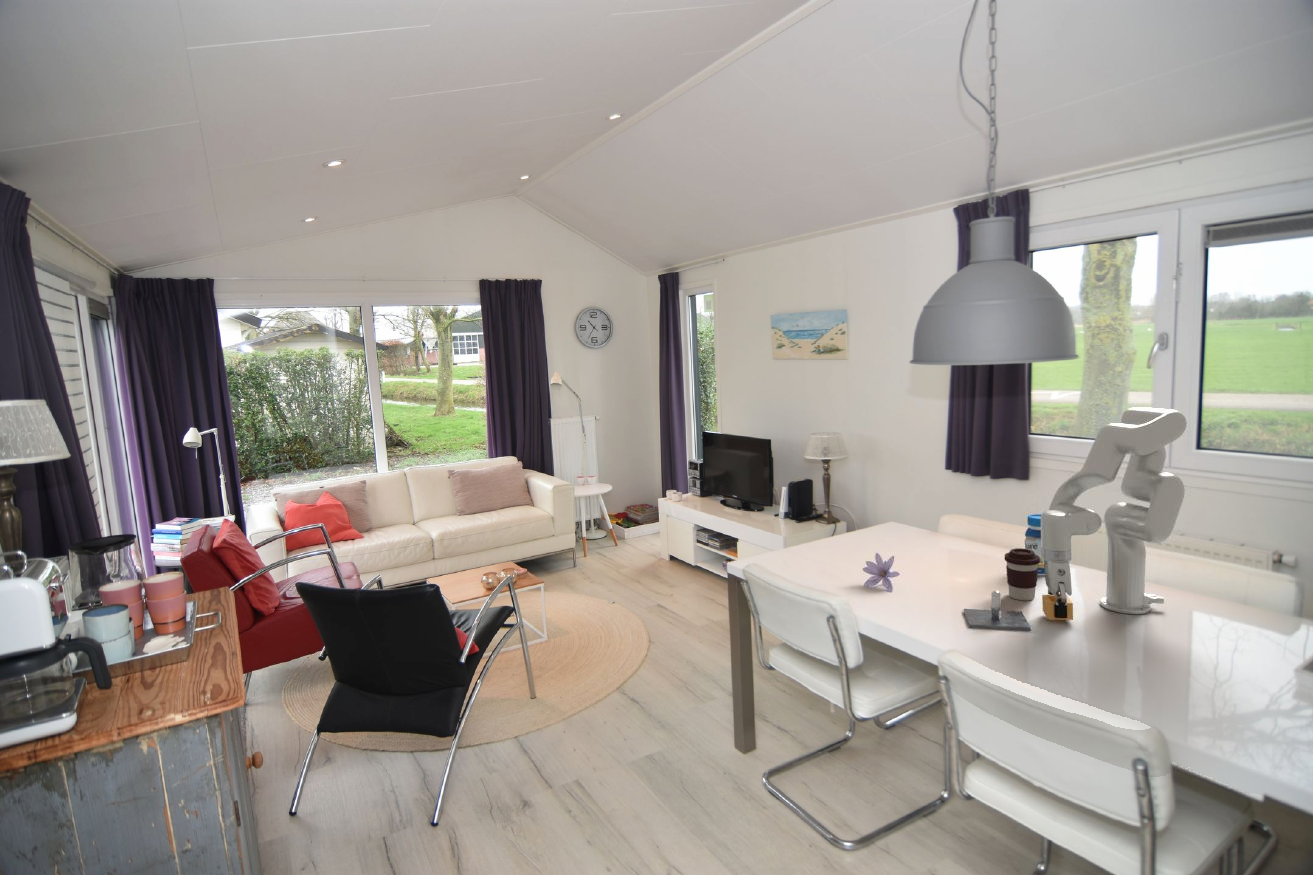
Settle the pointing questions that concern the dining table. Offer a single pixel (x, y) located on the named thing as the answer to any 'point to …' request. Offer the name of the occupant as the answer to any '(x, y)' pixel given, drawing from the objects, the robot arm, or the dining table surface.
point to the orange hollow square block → (1048, 607)
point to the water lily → (880, 572)
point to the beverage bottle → (1035, 539)
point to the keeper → (996, 617)
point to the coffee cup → (1022, 573)
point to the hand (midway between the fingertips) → (1057, 612)
